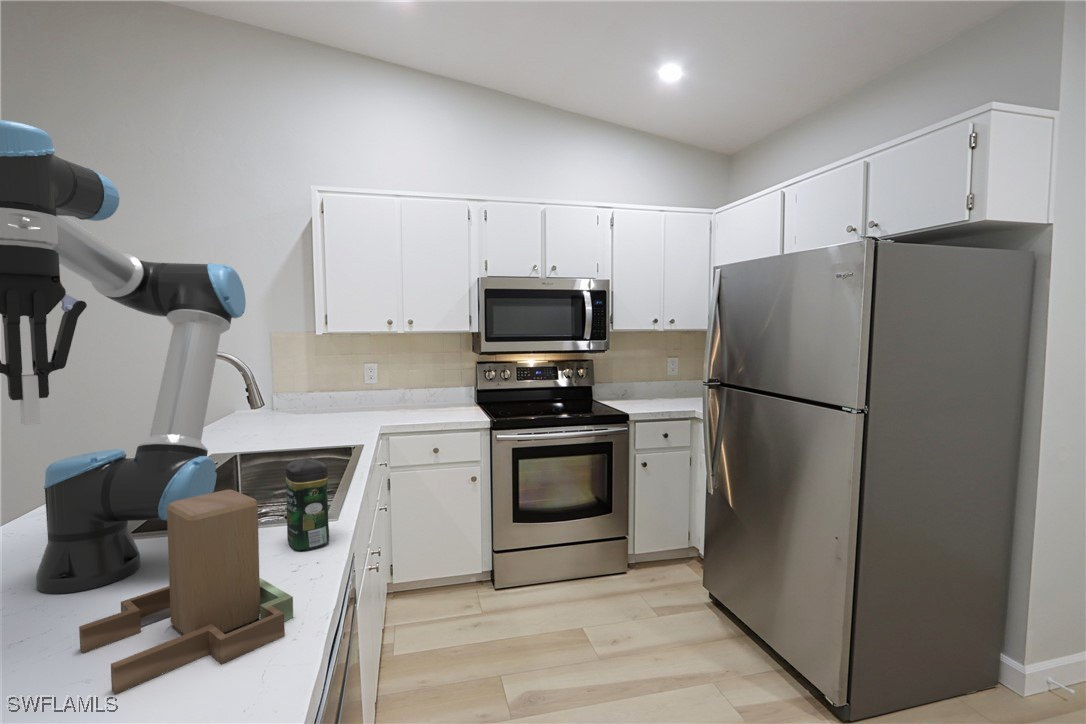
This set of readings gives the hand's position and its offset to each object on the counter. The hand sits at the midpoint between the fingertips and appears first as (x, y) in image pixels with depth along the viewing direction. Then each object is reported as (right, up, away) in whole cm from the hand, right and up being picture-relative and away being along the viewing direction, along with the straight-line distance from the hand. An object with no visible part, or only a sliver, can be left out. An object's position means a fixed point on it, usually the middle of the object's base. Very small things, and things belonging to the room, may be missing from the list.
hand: (30, 423), depth 73 cm
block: (+17, -34, +14) cm, 40 cm away
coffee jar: (+17, -32, +46) cm, 58 cm away
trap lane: (+14, -34, +10) cm, 38 cm away
